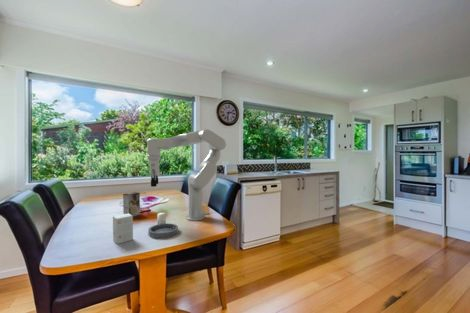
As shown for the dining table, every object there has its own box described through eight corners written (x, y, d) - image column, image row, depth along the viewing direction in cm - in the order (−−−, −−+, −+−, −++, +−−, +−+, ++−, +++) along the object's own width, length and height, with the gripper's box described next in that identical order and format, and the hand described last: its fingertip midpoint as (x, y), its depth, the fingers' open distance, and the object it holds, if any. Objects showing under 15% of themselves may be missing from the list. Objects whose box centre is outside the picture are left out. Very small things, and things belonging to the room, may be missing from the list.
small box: (129, 236, 124) (128, 212, 123) (133, 240, 119) (133, 215, 119) (112, 240, 118) (112, 215, 118) (116, 244, 114) (116, 218, 113)
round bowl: (177, 227, 139) (177, 222, 139) (177, 237, 124) (178, 232, 124) (150, 229, 135) (150, 224, 135) (146, 239, 120) (146, 234, 120)
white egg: (165, 223, 147) (165, 212, 146) (165, 225, 142) (165, 214, 142) (157, 223, 145) (157, 212, 145) (157, 226, 141) (157, 215, 140)
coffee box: (134, 213, 168) (134, 191, 167) (140, 214, 165) (140, 192, 164) (123, 216, 160) (122, 193, 159) (128, 217, 157) (128, 194, 156)
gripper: (158, 158, 135) (159, 187, 136) (161, 157, 152) (162, 182, 153) (145, 159, 133) (146, 187, 134) (149, 157, 150) (150, 183, 151)
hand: (154, 185), depth 144 cm, fingers open, 9 cm apart
